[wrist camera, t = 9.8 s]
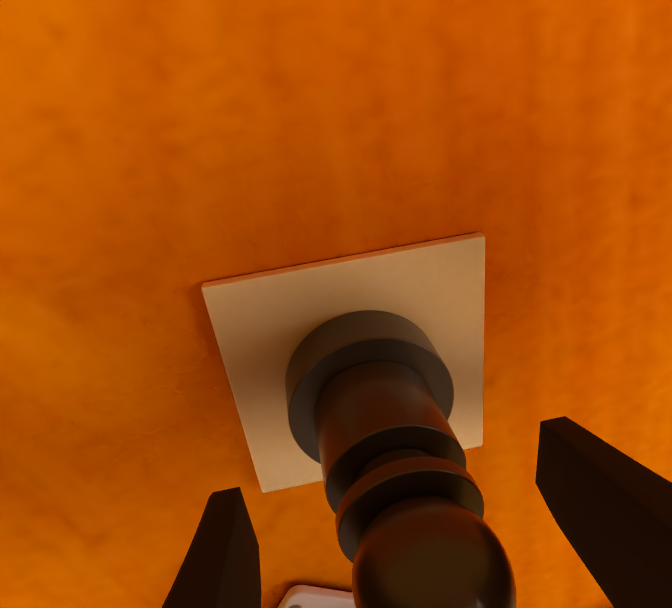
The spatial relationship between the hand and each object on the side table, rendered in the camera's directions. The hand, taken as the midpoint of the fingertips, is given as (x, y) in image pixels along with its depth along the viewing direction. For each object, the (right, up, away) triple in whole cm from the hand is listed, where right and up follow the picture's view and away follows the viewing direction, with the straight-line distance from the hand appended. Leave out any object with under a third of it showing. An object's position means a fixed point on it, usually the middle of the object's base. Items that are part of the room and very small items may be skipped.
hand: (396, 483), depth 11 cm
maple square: (-1, +2, +4) cm, 5 cm away
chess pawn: (-1, +2, +4) cm, 4 cm away
